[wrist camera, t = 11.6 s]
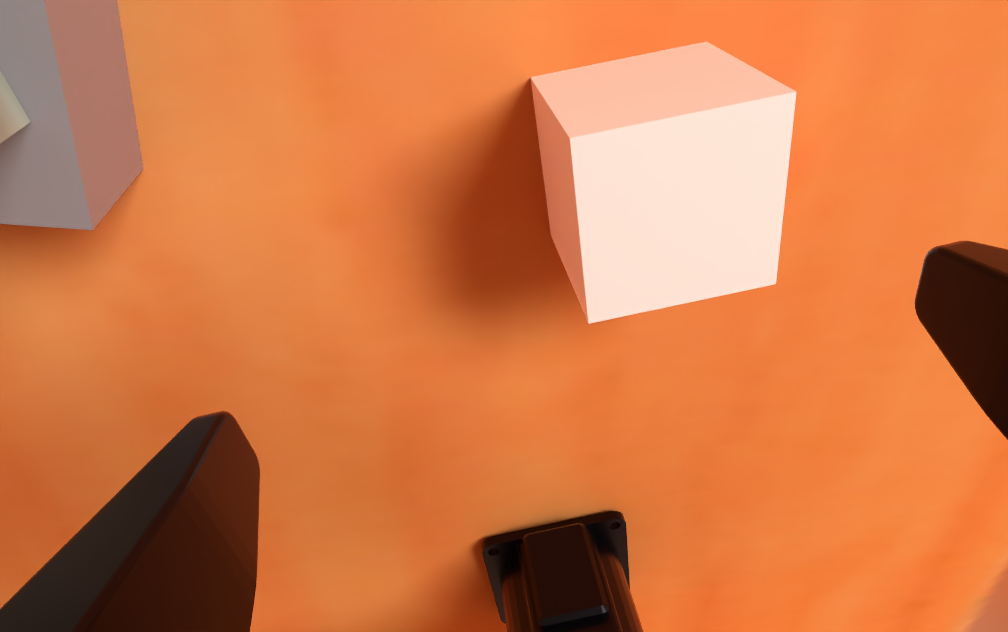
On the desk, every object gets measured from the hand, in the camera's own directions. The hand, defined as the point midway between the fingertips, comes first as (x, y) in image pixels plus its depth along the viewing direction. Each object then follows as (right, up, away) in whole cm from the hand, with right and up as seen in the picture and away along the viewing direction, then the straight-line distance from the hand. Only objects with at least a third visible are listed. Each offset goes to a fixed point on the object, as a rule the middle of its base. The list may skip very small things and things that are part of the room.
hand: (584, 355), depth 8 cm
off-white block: (+3, +6, +11) cm, 13 cm away
